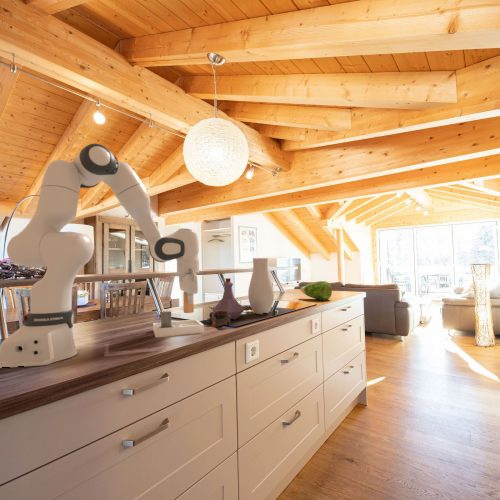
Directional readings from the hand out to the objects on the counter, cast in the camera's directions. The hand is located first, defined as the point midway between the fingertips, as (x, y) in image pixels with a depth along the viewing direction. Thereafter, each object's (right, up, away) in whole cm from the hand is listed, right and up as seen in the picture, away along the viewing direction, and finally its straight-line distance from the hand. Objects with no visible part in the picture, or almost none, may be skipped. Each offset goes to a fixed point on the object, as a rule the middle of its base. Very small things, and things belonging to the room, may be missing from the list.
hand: (188, 303), depth 132 cm
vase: (+31, -13, +44) cm, 55 cm away
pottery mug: (+11, -13, +12) cm, 21 cm away
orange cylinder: (0, -4, 0) cm, 4 cm away
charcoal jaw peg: (-8, -11, -4) cm, 14 cm away
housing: (-4, -12, -2) cm, 13 cm away
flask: (+14, -13, +32) cm, 38 cm away
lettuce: (+71, -14, +101) cm, 125 cm away
